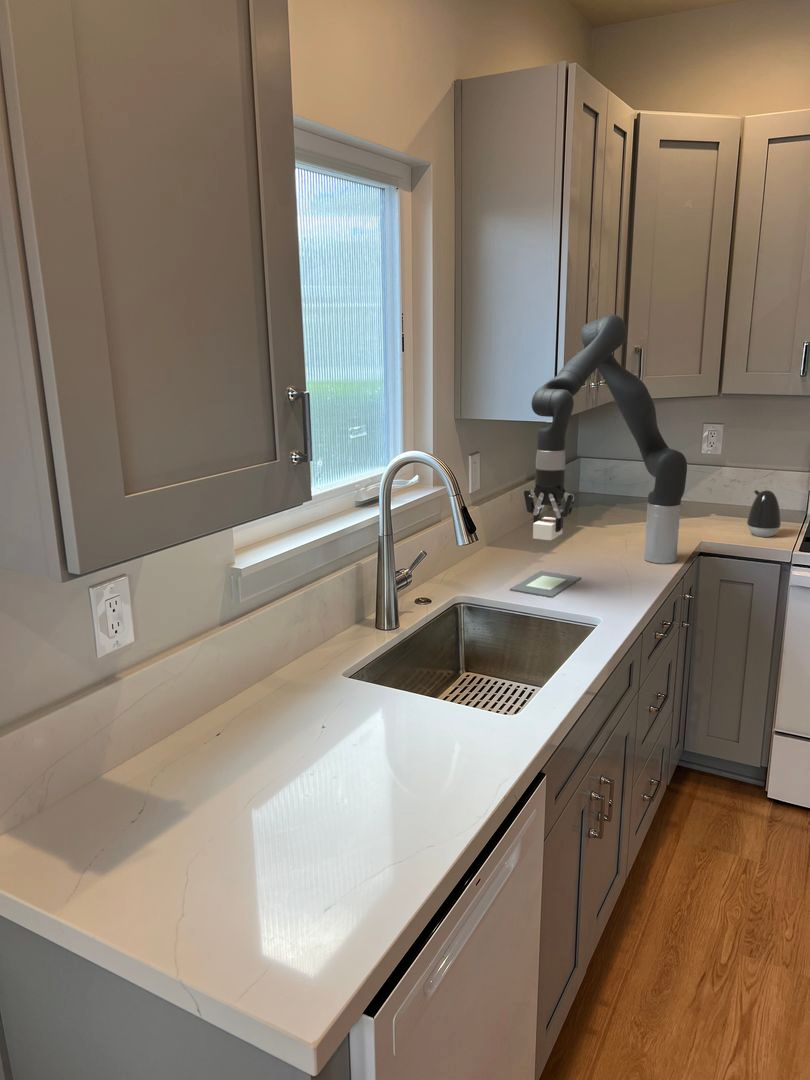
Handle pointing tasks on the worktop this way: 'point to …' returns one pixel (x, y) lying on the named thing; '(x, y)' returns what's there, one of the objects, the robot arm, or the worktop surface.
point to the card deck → (545, 529)
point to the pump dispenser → (764, 515)
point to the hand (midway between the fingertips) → (548, 529)
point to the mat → (545, 583)
